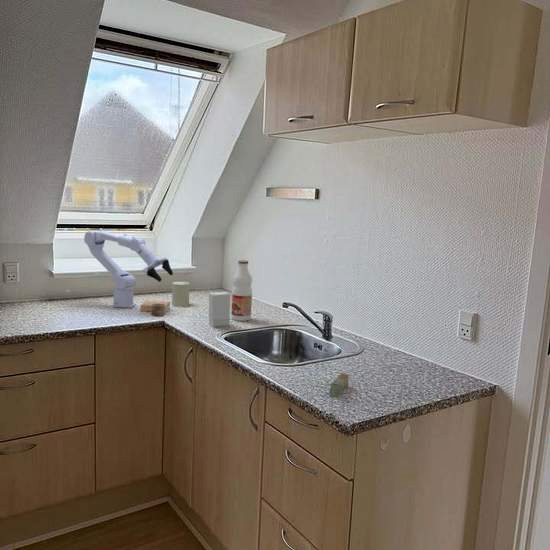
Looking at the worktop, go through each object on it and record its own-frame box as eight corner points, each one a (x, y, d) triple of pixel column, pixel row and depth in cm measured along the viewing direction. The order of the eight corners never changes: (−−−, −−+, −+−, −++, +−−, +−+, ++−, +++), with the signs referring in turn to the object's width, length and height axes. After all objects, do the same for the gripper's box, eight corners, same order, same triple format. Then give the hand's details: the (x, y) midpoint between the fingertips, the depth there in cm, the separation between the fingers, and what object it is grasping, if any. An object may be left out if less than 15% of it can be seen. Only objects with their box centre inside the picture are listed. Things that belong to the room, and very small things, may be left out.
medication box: (337, 398, 155) (339, 385, 154) (329, 396, 156) (330, 383, 155) (348, 385, 166) (349, 373, 165) (339, 384, 167) (340, 372, 166)
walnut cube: (151, 316, 247) (151, 305, 247) (153, 313, 252) (154, 303, 252) (161, 316, 247) (162, 306, 247) (164, 314, 252) (164, 304, 252)
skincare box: (225, 323, 239) (226, 291, 237) (230, 326, 234) (231, 293, 232) (207, 324, 236) (208, 292, 234) (212, 327, 230) (213, 294, 228)
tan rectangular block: (140, 311, 256) (140, 305, 255) (146, 306, 268) (146, 300, 267) (164, 312, 256) (164, 306, 255) (169, 307, 268) (169, 301, 267)
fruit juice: (252, 321, 245) (254, 262, 241) (232, 321, 243) (234, 261, 239) (249, 316, 254) (251, 259, 250) (230, 316, 253) (232, 259, 248)
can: (187, 306, 271) (188, 284, 269) (170, 305, 271) (170, 283, 269) (190, 303, 280) (191, 281, 278) (173, 302, 280) (174, 280, 278)
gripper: (139, 258, 250) (157, 278, 248) (162, 247, 260) (179, 266, 258) (135, 266, 255) (153, 287, 253) (157, 255, 265) (175, 274, 263)
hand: (166, 277), depth 256 cm, fingers open, 7 cm apart
